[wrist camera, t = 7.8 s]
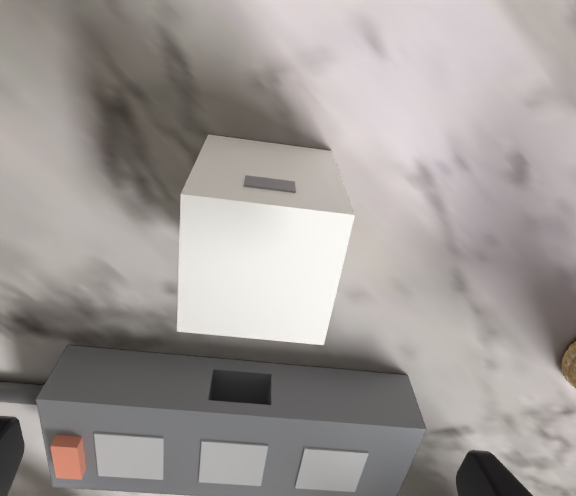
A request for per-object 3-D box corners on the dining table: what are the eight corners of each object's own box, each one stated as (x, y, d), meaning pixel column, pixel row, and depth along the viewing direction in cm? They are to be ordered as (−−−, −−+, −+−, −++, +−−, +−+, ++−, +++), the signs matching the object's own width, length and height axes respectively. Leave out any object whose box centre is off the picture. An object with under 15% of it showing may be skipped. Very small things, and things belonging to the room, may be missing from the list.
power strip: (407, 375, 25) (430, 440, 21) (379, 451, 28) (394, 518, 24) (-47, 335, 22) (-107, 399, 19) (-21, 422, 26) (-69, 491, 22)
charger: (332, 149, 18) (355, 213, 13) (303, 297, 22) (312, 393, 17) (208, 132, 18) (180, 191, 13) (199, 287, 21) (175, 382, 16)
